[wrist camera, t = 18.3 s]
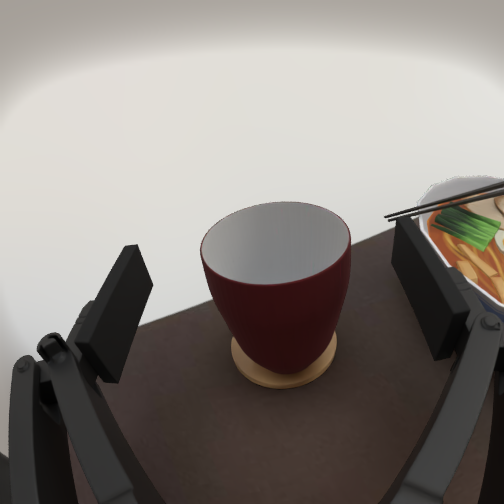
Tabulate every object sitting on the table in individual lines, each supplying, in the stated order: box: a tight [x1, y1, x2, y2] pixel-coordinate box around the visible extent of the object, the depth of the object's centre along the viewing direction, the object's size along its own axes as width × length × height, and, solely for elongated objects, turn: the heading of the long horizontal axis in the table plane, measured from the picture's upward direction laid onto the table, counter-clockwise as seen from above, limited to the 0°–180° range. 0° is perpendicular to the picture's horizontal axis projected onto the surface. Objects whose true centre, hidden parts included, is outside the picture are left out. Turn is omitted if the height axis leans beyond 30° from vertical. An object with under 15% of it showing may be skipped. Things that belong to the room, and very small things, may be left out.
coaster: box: [231, 331, 337, 389], centre depth 24 cm, size 8×8×1 cm
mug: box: [200, 202, 351, 374], centre depth 21 cm, size 11×8×10 cm
